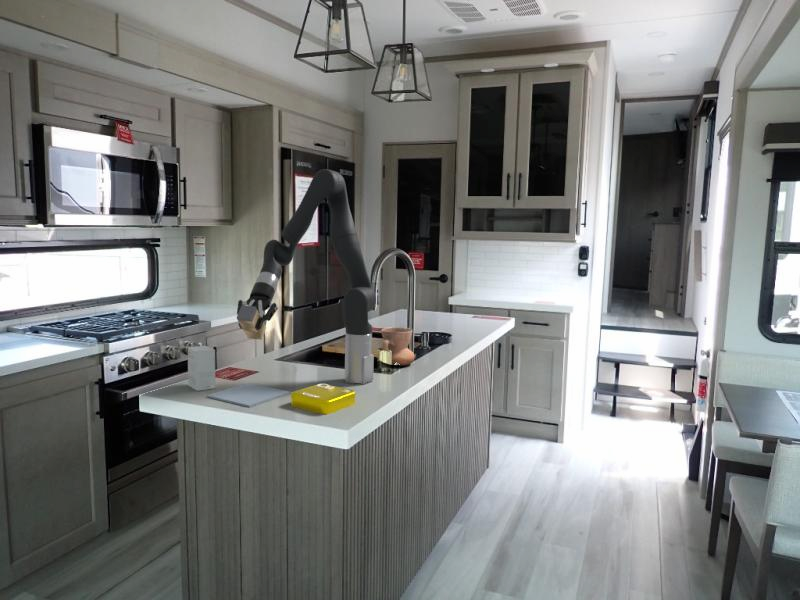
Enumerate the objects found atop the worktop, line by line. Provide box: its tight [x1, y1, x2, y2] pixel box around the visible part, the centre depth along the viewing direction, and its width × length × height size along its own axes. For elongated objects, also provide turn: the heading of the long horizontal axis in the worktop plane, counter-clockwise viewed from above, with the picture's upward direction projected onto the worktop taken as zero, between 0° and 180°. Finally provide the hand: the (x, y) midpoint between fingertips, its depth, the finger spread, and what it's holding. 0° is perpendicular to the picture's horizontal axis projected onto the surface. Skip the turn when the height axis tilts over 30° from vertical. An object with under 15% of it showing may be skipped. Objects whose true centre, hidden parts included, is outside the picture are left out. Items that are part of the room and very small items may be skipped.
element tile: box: [290, 383, 356, 415], centre depth 180 cm, size 15×15×5 cm
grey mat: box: [206, 382, 291, 408], centre depth 187 cm, size 18×18×1 cm
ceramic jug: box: [378, 326, 416, 367], centre depth 235 cm, size 18×14×14 cm
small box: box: [187, 345, 216, 392], centre depth 194 cm, size 8×6×13 cm
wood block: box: [236, 305, 267, 340], centre depth 196 cm, size 5×5×12 cm
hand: (248, 328), depth 195 cm, fingers closed on wood block, 5 cm apart
